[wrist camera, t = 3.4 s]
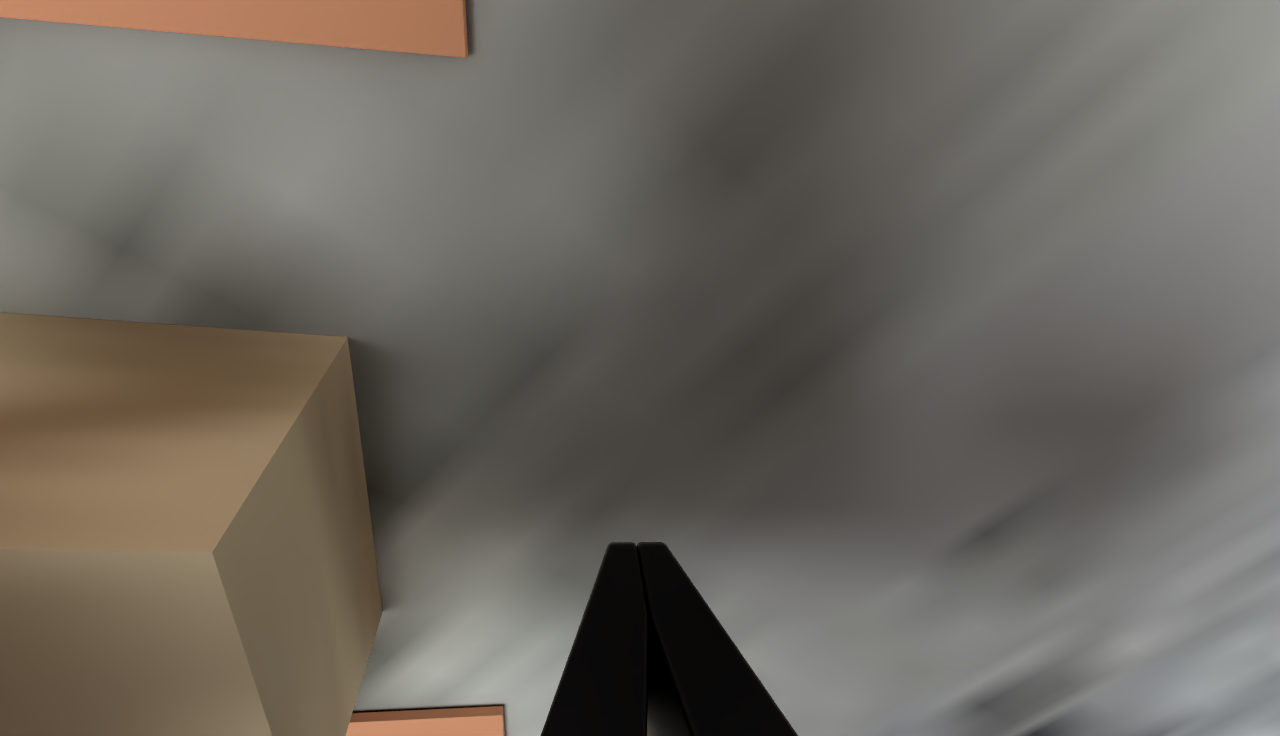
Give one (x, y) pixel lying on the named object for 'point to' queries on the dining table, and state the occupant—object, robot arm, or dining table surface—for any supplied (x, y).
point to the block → (180, 531)
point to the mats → (320, 15)
